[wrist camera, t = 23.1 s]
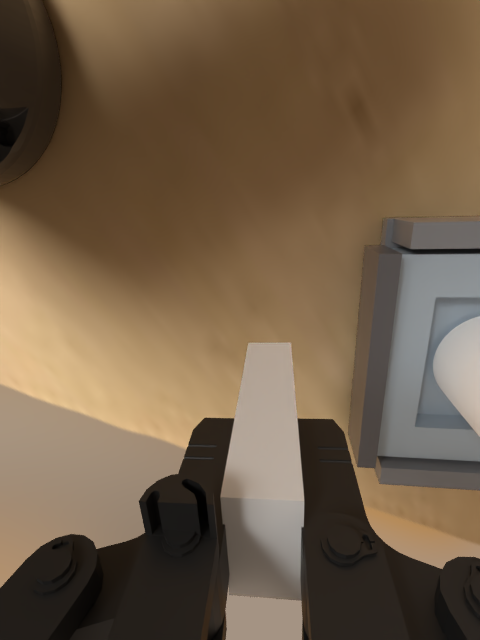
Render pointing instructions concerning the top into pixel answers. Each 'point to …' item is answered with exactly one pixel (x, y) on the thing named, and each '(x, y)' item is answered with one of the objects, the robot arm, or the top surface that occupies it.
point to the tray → (410, 354)
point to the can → (461, 370)
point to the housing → (430, 236)
